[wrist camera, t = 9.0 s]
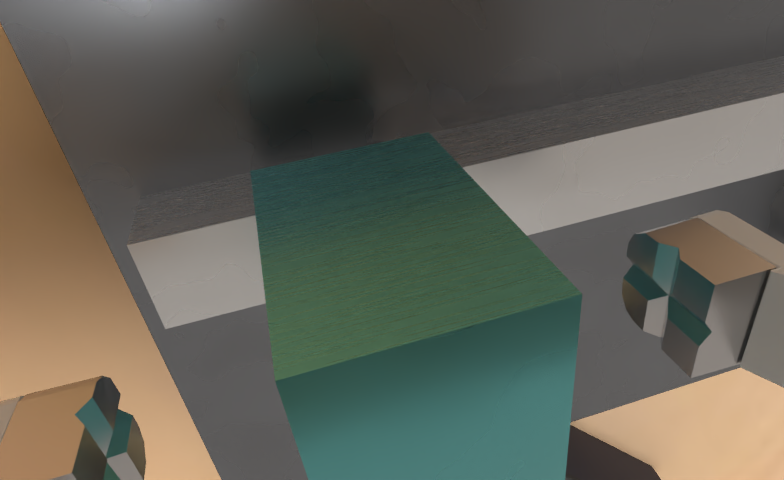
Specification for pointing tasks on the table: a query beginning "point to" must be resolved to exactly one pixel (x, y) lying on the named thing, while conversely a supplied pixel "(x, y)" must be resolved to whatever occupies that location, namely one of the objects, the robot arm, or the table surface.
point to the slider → (412, 320)
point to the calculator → (602, 461)
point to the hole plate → (393, 121)
